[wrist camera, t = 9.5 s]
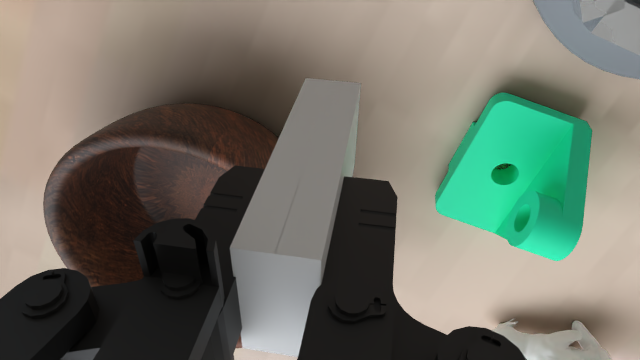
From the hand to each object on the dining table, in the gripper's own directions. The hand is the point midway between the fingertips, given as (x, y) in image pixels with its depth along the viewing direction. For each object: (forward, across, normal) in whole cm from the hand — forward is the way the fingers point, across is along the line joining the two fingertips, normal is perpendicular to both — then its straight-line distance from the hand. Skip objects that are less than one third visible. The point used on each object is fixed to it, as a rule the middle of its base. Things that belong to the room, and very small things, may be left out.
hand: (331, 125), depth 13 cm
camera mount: (+25, +12, -16) cm, 32 cm away
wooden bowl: (+26, -15, -24) cm, 38 cm away
